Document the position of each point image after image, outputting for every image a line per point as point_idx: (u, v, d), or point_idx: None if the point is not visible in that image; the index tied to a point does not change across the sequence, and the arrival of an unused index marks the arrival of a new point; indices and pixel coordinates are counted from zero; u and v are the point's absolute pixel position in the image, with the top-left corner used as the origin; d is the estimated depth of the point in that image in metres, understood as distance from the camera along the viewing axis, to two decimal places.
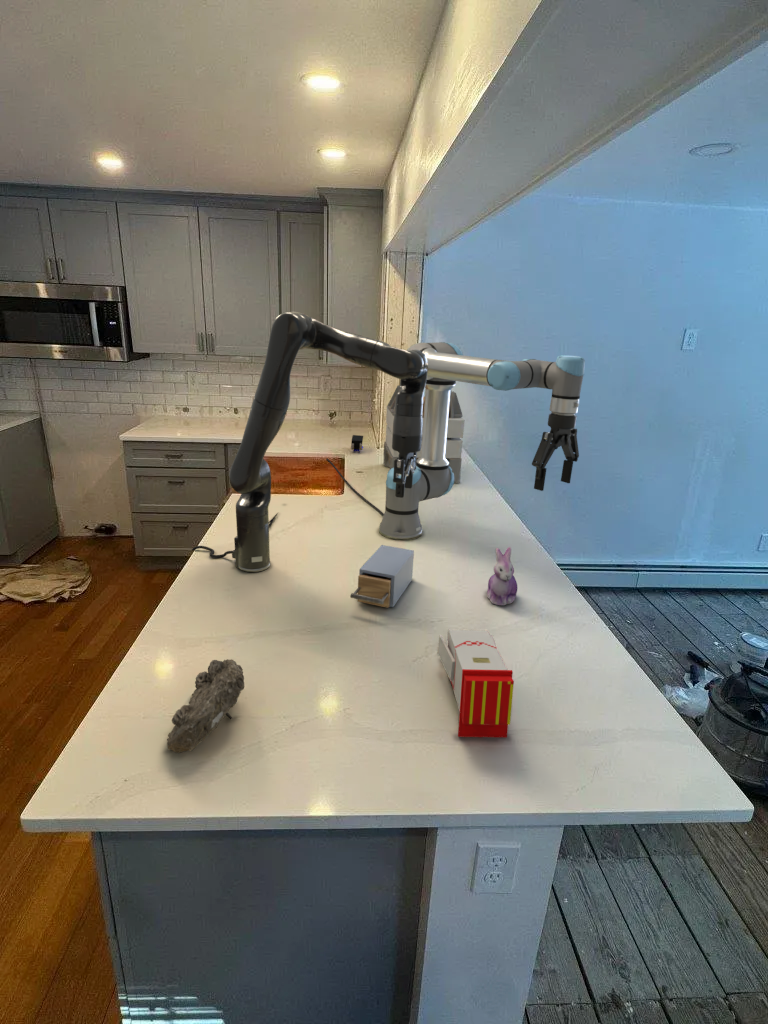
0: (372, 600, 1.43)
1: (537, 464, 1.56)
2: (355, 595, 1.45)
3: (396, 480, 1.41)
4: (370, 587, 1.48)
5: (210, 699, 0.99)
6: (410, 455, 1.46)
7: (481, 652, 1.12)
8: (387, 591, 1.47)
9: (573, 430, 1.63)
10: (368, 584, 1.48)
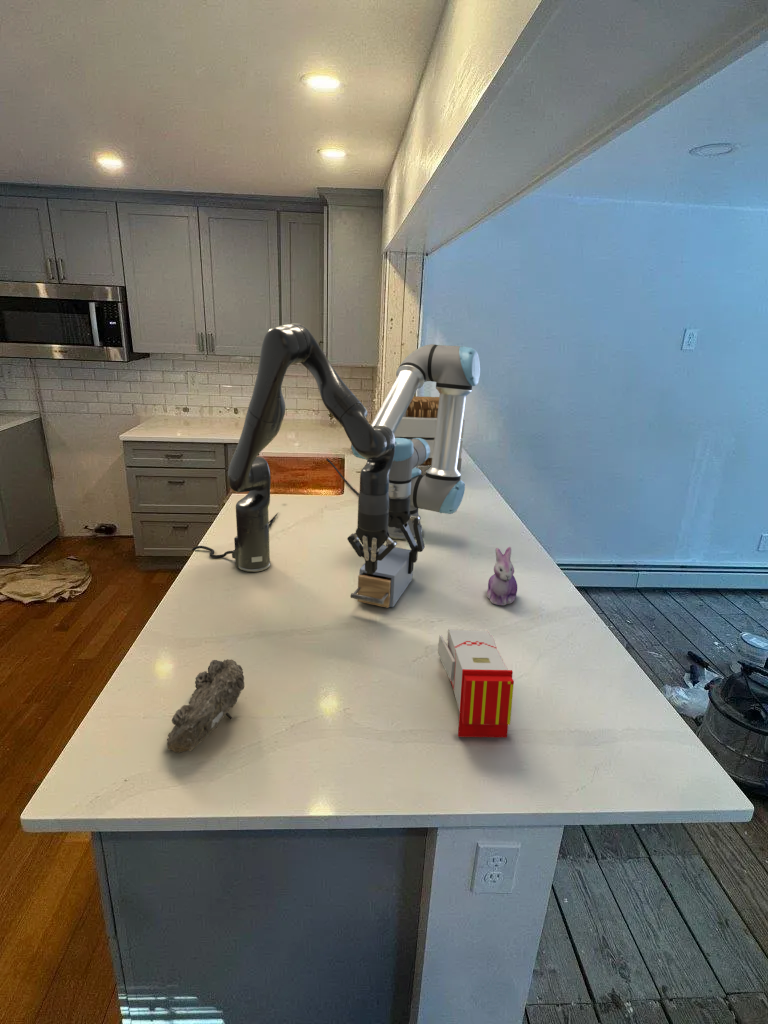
0: (372, 600, 1.43)
1: None
2: (355, 595, 1.45)
3: None
4: (370, 587, 1.48)
5: (210, 699, 0.99)
6: None
7: (481, 652, 1.12)
8: (387, 591, 1.47)
9: (414, 518, 1.55)
10: (368, 584, 1.48)
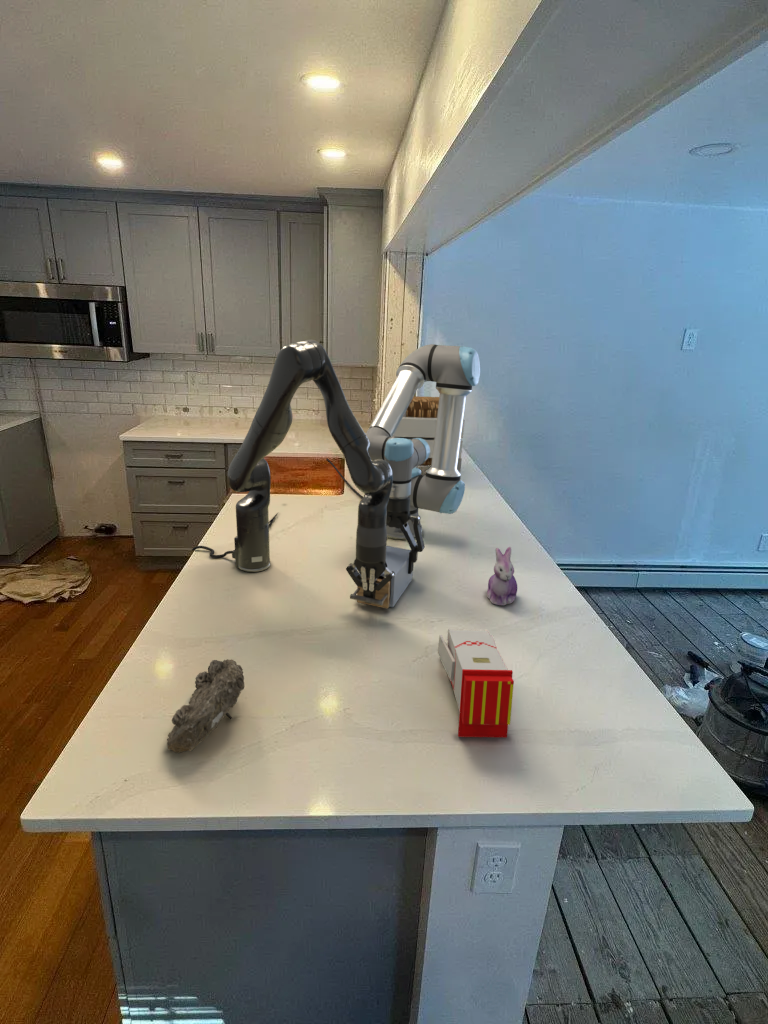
0: (371, 601, 1.43)
1: None
2: (354, 596, 1.44)
3: None
4: None
5: (210, 699, 0.99)
6: None
7: (481, 652, 1.12)
8: (386, 591, 1.47)
9: (414, 519, 1.55)
10: None
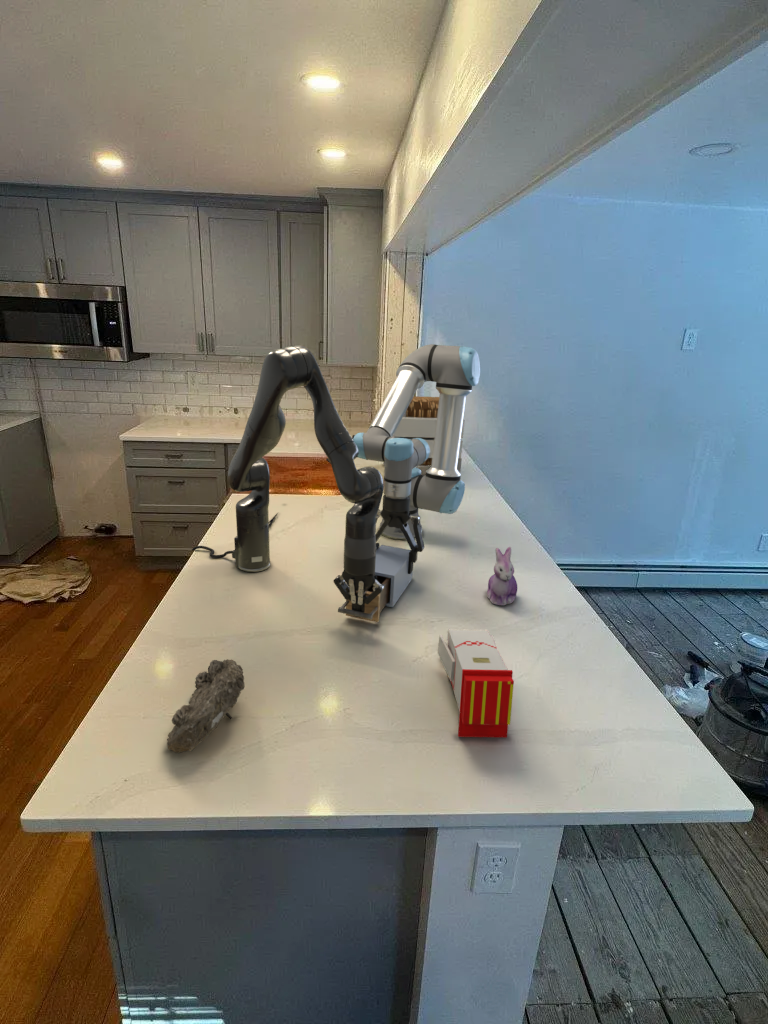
0: (360, 615, 1.36)
1: None
2: (343, 609, 1.38)
3: None
4: None
5: (210, 699, 0.99)
6: None
7: (481, 652, 1.12)
8: (376, 604, 1.40)
9: (414, 518, 1.55)
10: None
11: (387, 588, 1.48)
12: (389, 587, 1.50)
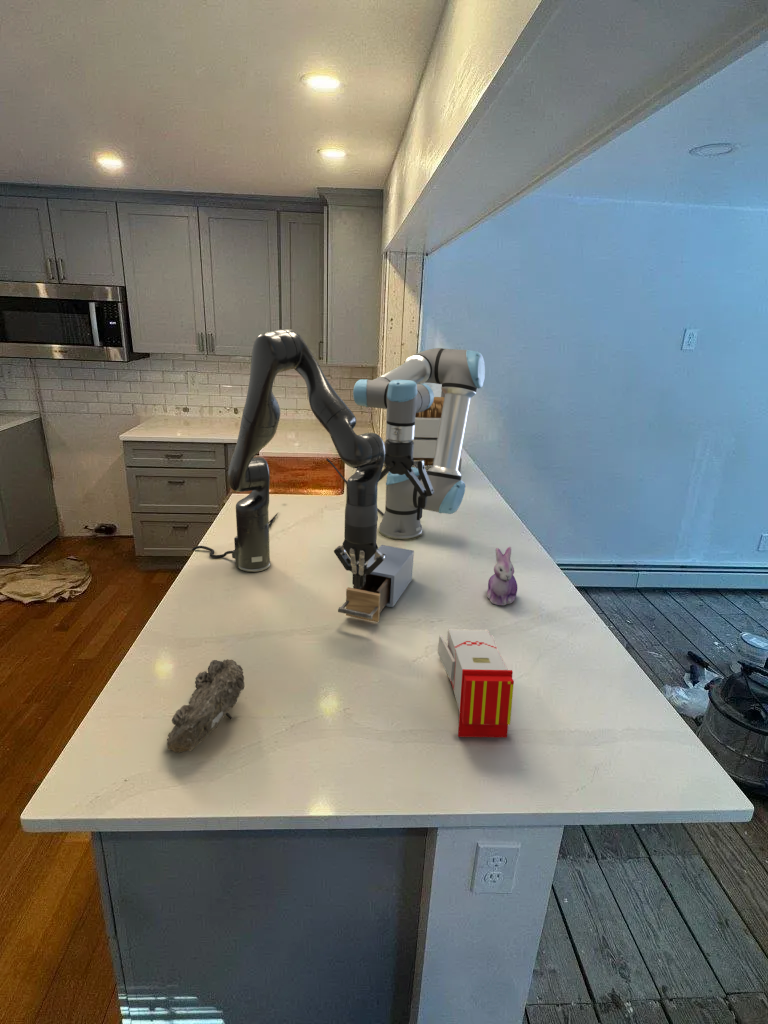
0: (360, 615, 1.36)
1: None
2: (343, 609, 1.38)
3: None
4: (359, 601, 1.41)
5: (210, 699, 0.99)
6: None
7: (481, 652, 1.12)
8: (376, 604, 1.40)
9: (418, 462, 1.50)
10: (357, 597, 1.41)
11: (387, 588, 1.48)
12: (389, 587, 1.50)
